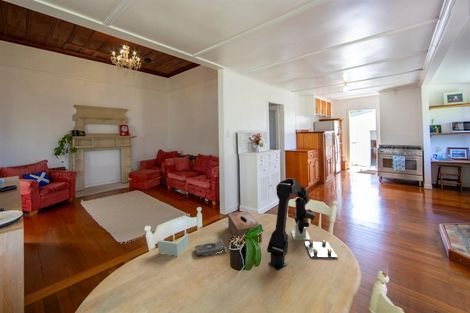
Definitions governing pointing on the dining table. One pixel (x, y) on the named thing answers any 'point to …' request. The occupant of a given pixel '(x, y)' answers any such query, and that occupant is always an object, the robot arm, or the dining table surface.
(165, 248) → the right angle wall
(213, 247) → the graphics card
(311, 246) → the chassis plate
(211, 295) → the dining table surface
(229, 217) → the tissue box cover
